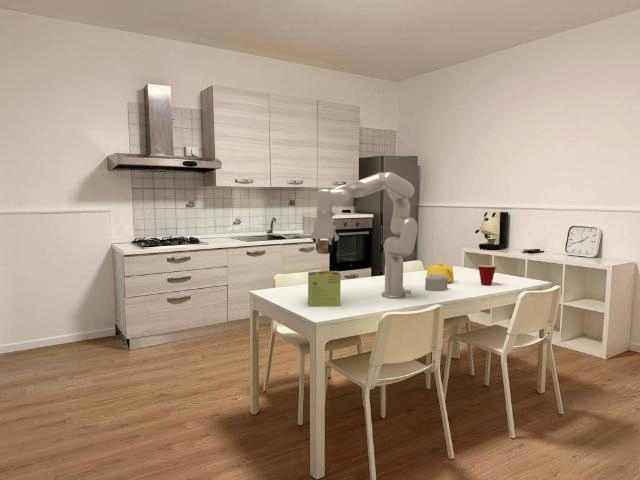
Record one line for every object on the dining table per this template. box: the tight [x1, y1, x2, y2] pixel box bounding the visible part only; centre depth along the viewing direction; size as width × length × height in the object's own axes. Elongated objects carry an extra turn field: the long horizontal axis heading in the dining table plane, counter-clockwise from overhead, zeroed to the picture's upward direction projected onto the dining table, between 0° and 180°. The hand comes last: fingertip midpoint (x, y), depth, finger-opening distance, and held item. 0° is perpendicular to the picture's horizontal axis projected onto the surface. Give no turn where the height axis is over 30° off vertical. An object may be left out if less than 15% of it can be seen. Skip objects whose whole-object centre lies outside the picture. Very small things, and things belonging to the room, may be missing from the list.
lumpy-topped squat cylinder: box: [424, 274, 448, 292], centre depth 253 cm, size 10×13×9 cm
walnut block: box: [317, 239, 330, 255], centre depth 214 cm, size 5×5×6 cm
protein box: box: [307, 270, 342, 307], centre depth 216 cm, size 10×15×16 cm
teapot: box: [425, 262, 454, 284], centre depth 277 cm, size 20×12×12 cm, turn 34°
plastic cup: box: [477, 264, 497, 286], centre depth 267 cm, size 11×11×12 cm
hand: (324, 252), depth 214 cm, fingers closed on walnut block, 5 cm apart
